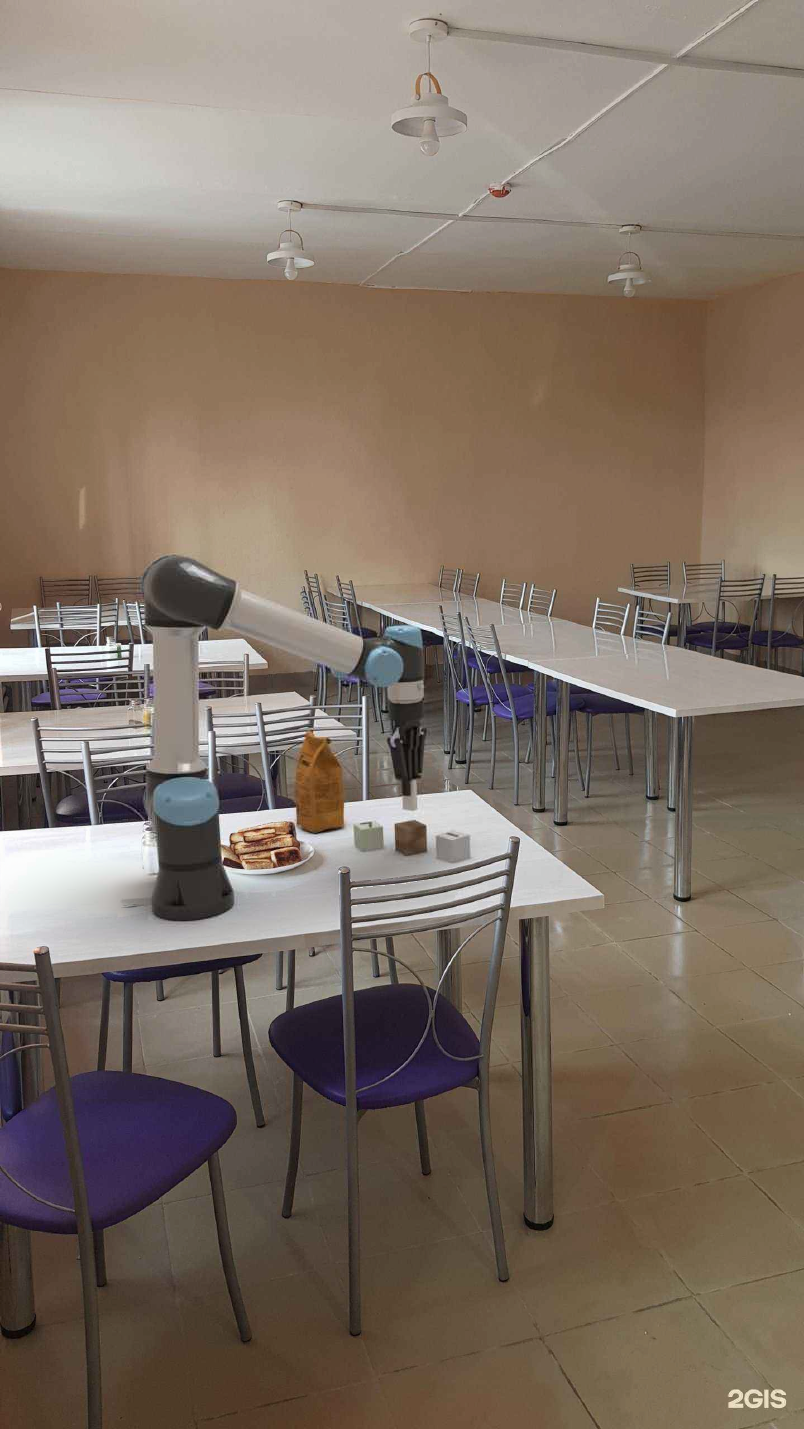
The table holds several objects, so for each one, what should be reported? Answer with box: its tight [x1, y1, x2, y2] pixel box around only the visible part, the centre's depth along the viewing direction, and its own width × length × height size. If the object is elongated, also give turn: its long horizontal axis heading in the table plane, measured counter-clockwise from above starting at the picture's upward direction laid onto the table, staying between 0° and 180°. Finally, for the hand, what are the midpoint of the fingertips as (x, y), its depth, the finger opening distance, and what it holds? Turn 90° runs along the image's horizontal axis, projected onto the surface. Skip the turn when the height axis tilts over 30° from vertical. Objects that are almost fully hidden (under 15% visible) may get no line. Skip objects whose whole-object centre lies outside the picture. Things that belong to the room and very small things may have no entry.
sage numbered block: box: [353, 820, 385, 853], centre depth 231 cm, size 5×5×5 cm
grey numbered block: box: [435, 829, 471, 864], centre depth 221 cm, size 5×5×5 cm
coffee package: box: [294, 730, 345, 834], centre depth 246 cm, size 10×12×22 cm
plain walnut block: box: [394, 819, 428, 857], centre depth 226 cm, size 5×5×6 cm
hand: (410, 809), depth 225 cm, fingers closed
